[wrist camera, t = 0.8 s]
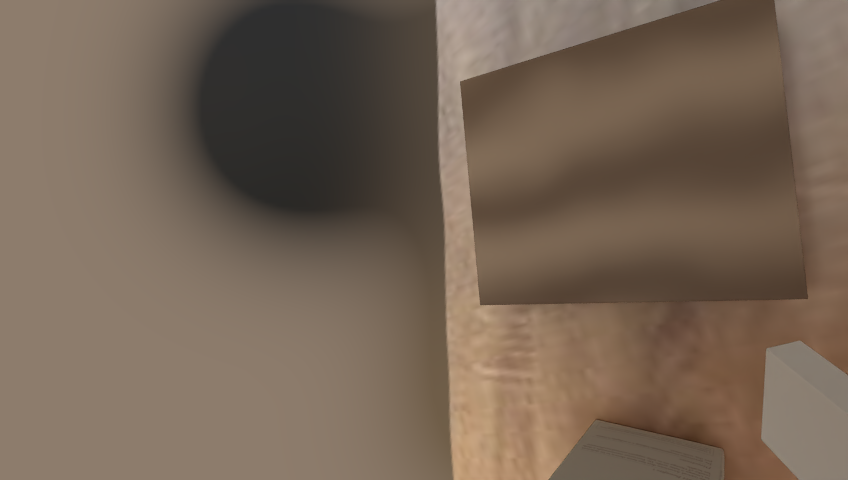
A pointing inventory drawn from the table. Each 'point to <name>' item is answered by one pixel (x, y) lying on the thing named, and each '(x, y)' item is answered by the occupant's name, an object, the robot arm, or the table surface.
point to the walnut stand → (638, 167)
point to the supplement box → (638, 456)
